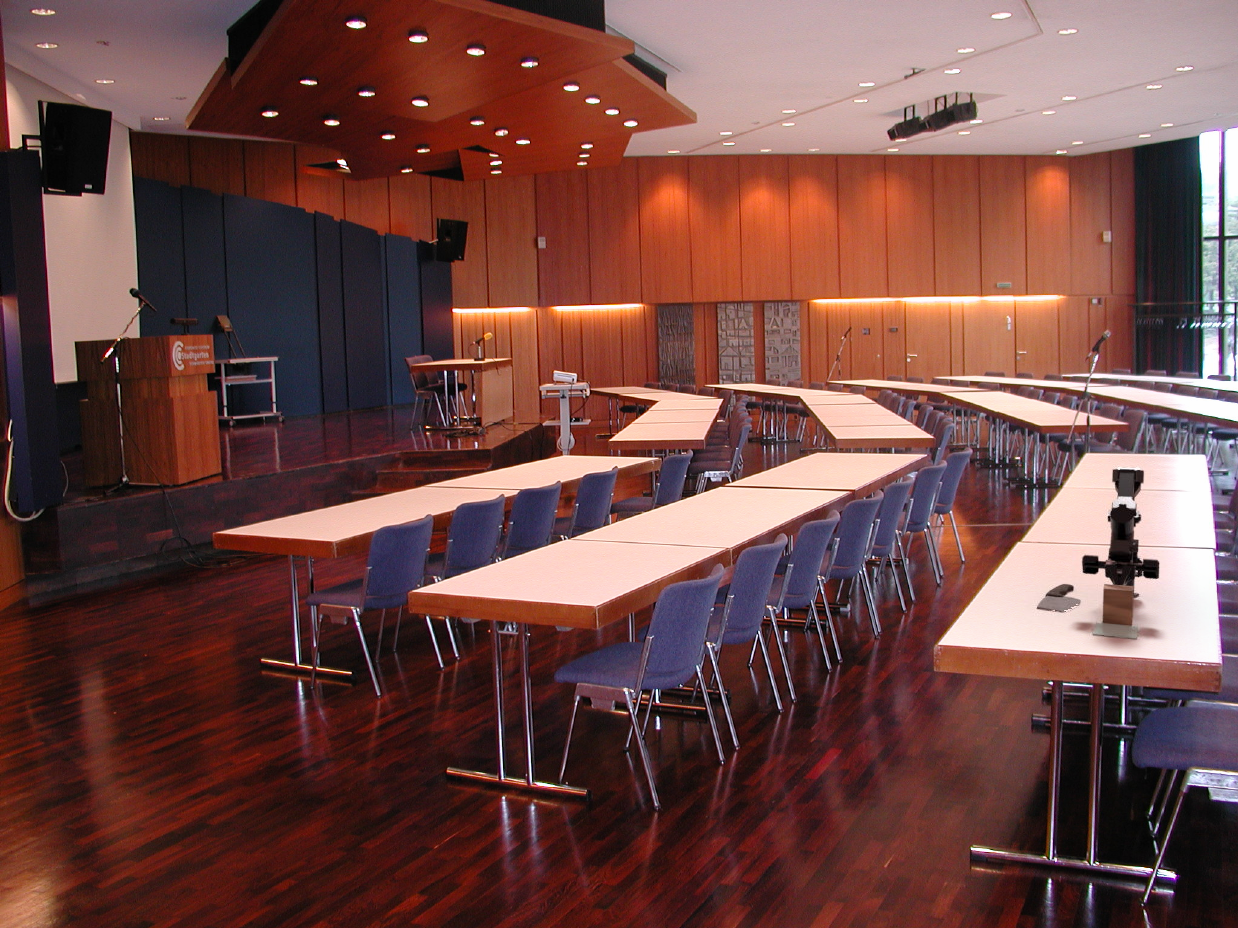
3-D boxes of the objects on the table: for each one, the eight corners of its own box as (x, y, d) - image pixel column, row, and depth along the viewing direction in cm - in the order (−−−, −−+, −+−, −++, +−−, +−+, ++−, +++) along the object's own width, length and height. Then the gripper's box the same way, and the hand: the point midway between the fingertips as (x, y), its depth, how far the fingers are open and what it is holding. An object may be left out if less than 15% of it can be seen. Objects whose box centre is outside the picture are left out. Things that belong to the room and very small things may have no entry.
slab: (1103, 620, 279) (1104, 583, 277) (1132, 623, 275) (1133, 586, 274) (1102, 623, 276) (1103, 586, 275) (1131, 626, 273) (1133, 588, 272)
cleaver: (1054, 588, 316) (1055, 582, 316) (1089, 592, 311) (1089, 585, 311) (1034, 611, 292) (1034, 604, 291) (1072, 615, 286) (1072, 608, 286)
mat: (1096, 623, 276) (1096, 622, 276) (1138, 627, 271) (1138, 626, 271) (1092, 634, 265) (1092, 633, 265) (1136, 639, 261) (1136, 638, 260)
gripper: (1083, 525, 284) (1079, 573, 275) (1160, 529, 275) (1158, 579, 266) (1085, 548, 291) (1080, 596, 283) (1160, 553, 283) (1157, 602, 274)
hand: (1118, 592), depth 276 cm, fingers closed
